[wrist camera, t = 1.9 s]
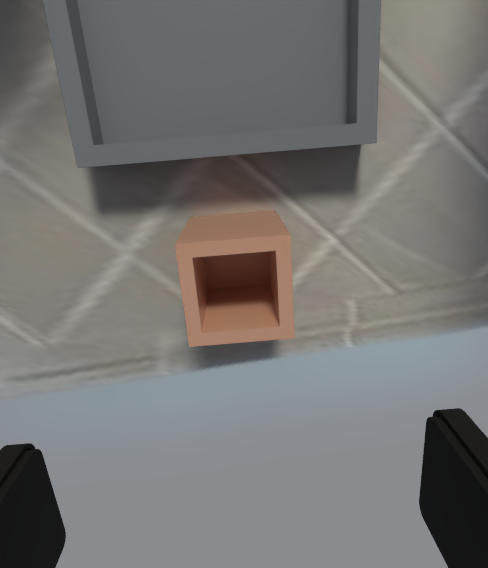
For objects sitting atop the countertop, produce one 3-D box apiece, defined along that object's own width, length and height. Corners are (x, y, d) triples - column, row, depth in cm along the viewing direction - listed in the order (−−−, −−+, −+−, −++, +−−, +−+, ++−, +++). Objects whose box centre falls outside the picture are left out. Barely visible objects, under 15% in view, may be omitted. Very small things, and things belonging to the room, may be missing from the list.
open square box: (275, 210, 28) (290, 234, 21) (279, 289, 30) (294, 338, 23) (190, 217, 28) (175, 244, 21) (200, 296, 30) (189, 347, 23)
